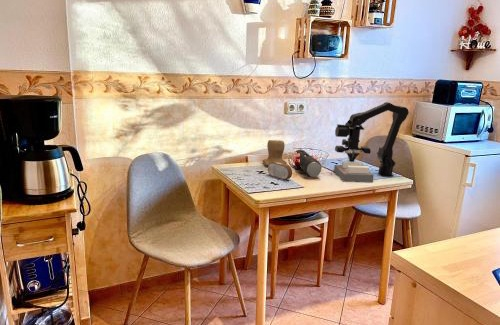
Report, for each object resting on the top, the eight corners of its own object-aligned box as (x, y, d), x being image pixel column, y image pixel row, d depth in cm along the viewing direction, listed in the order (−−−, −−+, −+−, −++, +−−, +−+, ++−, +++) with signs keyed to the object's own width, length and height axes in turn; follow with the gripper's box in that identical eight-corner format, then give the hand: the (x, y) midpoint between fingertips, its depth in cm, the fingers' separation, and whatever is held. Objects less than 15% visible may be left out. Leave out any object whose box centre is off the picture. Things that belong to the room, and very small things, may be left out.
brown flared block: (279, 161, 235) (281, 137, 232) (289, 165, 225) (290, 141, 221) (257, 162, 229) (259, 138, 225) (266, 167, 219) (268, 142, 215)
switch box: (360, 172, 218) (361, 165, 217) (372, 182, 200) (373, 174, 199) (333, 171, 217) (334, 164, 216) (343, 181, 199) (344, 173, 198)
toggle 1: (360, 167, 212) (361, 161, 211) (362, 168, 209) (363, 163, 208) (341, 166, 211) (342, 161, 210) (343, 168, 208) (343, 162, 207)
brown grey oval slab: (292, 180, 196) (293, 165, 194) (288, 181, 194) (289, 166, 192) (270, 174, 206) (270, 159, 204) (266, 175, 204) (267, 160, 202)
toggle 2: (366, 171, 203) (367, 166, 202) (368, 173, 200) (369, 167, 199) (346, 171, 202) (347, 165, 201) (348, 172, 199) (348, 167, 198)
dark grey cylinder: (306, 165, 228) (308, 149, 225) (321, 179, 201) (323, 161, 198) (291, 165, 226) (292, 148, 224) (304, 179, 200) (306, 160, 197)
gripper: (365, 135, 216) (362, 161, 220) (333, 133, 215) (331, 160, 219) (372, 138, 206) (368, 166, 210) (338, 137, 205) (335, 165, 209)
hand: (350, 164), depth 212 cm, fingers closed
